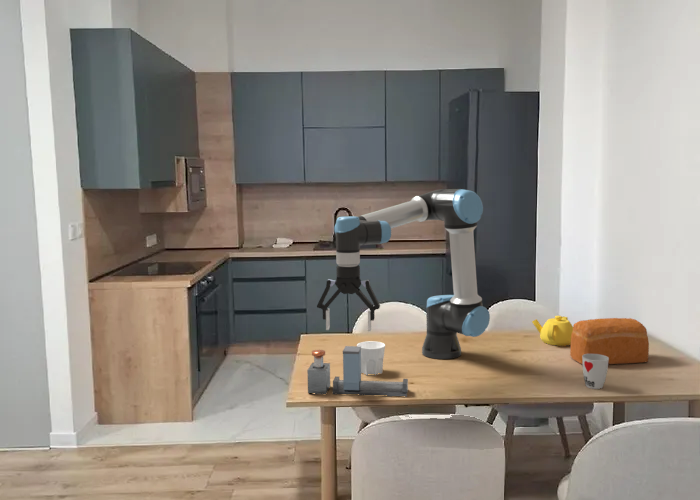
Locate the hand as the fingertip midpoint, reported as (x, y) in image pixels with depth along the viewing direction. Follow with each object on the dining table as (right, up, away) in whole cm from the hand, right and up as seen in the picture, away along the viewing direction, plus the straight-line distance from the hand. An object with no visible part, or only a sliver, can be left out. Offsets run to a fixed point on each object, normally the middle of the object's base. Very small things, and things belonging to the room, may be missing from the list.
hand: (348, 329), depth 209 cm
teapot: (+85, -12, +60) cm, 105 cm away
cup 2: (+81, -19, +4) cm, 84 cm away
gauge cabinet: (-10, -20, +4) cm, 23 cm away
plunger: (-10, -16, +4) cm, 19 cm away
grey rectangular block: (+1, -19, +2) cm, 19 cm away
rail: (+7, -20, +2) cm, 22 cm away
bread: (+98, -16, +34) cm, 104 cm away
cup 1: (+8, -18, +23) cm, 30 cm away
